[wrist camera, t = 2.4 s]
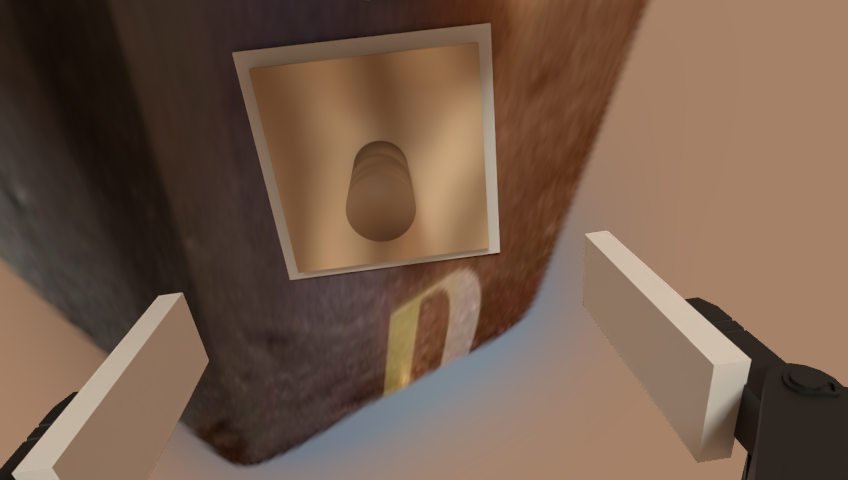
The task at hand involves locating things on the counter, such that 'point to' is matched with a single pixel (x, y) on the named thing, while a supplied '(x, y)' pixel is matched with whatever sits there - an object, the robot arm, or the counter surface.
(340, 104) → the oak cover
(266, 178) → the grey mat
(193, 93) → the counter surface
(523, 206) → the counter surface
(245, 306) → the counter surface
